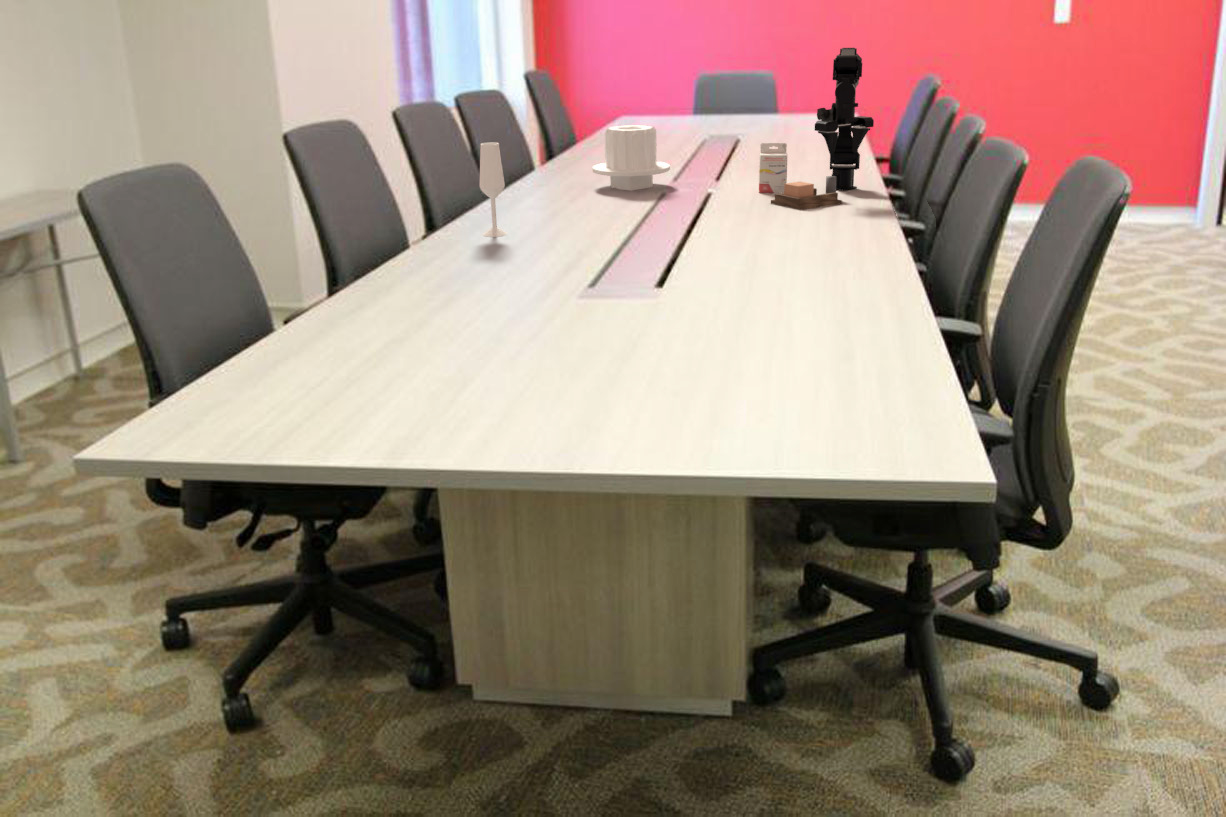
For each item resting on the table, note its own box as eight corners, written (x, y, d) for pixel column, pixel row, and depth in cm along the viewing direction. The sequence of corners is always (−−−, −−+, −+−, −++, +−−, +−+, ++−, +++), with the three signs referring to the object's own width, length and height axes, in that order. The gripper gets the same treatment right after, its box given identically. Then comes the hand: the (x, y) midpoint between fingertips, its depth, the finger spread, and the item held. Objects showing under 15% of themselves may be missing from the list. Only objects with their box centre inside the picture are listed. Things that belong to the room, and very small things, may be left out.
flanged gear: (628, 197, 364) (627, 134, 357) (577, 188, 382) (575, 128, 375) (686, 186, 379) (686, 126, 373) (634, 178, 397) (633, 121, 390)
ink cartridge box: (758, 193, 364) (759, 145, 359) (758, 190, 369) (759, 142, 364) (786, 193, 363) (788, 144, 358) (786, 190, 368) (787, 142, 363)
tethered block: (827, 196, 354) (828, 175, 351) (841, 199, 349) (842, 177, 347) (783, 203, 345) (784, 181, 343) (797, 206, 340) (798, 183, 338)
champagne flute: (479, 233, 318) (473, 143, 309) (503, 230, 320) (497, 141, 312) (487, 237, 312) (481, 146, 304) (511, 235, 314) (505, 144, 306)
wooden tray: (809, 197, 355) (809, 187, 354) (841, 203, 344) (842, 193, 343) (770, 203, 348) (770, 193, 347) (802, 210, 336) (802, 199, 335)
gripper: (849, 95, 354) (847, 148, 359) (802, 100, 345) (801, 154, 350) (876, 98, 345) (873, 151, 350) (828, 102, 336) (826, 157, 341)
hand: (843, 153), depth 348 cm, fingers open, 9 cm apart
